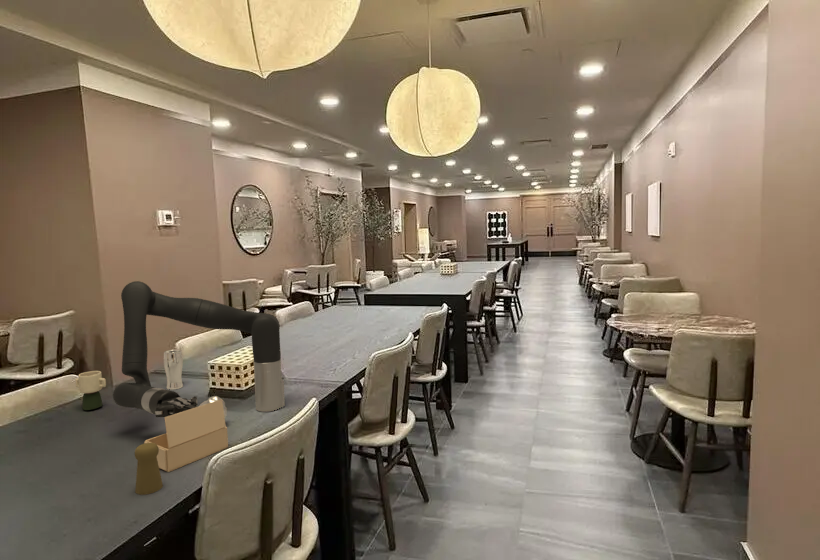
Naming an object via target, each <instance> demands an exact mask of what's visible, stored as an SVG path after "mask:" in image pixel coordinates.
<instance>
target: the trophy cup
mask: <svg viewBox="0 0 820 560" xmlns="http://www.w3.org/2000/svg"><path fill="white" fill-rule="evenodd" d="M77 377H78V378H75V387H76V388H79V389H78V390H79V393H81V394H83V396H82V401H81V402H82V403H81V404H82V408H81V409H82V410H84V411H90V410H95V409H98V408H101V407H103V406H104V405H103V401H102V396H101V395H102V394H101V393H100V390H102V389H103V388H106V386H107V379H106V378H104V377H103V375H102V371H100V370H91V371H85V372H81V373H79V374H78V376H77Z"/></svg>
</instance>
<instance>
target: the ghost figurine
mask: <svg viewBox="0 0 820 560" xmlns="http://www.w3.org/2000/svg"><path fill="white" fill-rule="evenodd" d="M220 399H222V398H221V397H220V396H217V395H213V396H211V397H209V398H208V399H207V400H204V401H202V402H201V403H200V404H199V405H198V407H199V406H202V405H205V404H208V403H211V402H214V401H217V400H220ZM222 402H223V410H224V417H225V418H226V417H227V415H228V413H227V412H228V408H227V407H226V402H225V401H224V399H222Z"/></svg>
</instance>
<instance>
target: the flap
mask: <svg viewBox="0 0 820 560" xmlns="http://www.w3.org/2000/svg"><path fill="white" fill-rule="evenodd" d="M222 400H223V399H222V398H221V399H220V400H217V401H214V402H211V403H208V404H205V405H202V406H199V405H198V406H197V407H196V408H192V409H189V410H186V411H183V412H180V413H177V414H174V415H171V416H167V417H163V418H164V425H165V433H167V440H168V448H170V447H173V446H176V445H178V444H181V443H184V442H186V441H189V440H192V439H194V438H197V437H200V436H202V435H205V434H208V433H210V432H213V431H216V430H218V429H221V428H224V427H227V425H226V417H224V410H223V402H222Z"/></svg>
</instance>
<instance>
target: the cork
mask: <svg viewBox="0 0 820 560" xmlns="http://www.w3.org/2000/svg"><path fill="white" fill-rule="evenodd" d="M158 453H159V448H158V446H157V444H155V443H145V444H144V443H142V444H139V445H138V446H137V447H136V448H135V449H134V457H135V458H134V459H135V460H136V461H137V465H136V477H135V488H134V491H135V492H134V493H135V494H136V495H141V496H143V495H150V494H154V493H156V492H159V491H160V490H161V489H162V488H163V487H164V484H163V480H162V479H163V478H162V475H161V471H160V470H161V469H160V468H159V465H158V461H157V455H158Z"/></svg>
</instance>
